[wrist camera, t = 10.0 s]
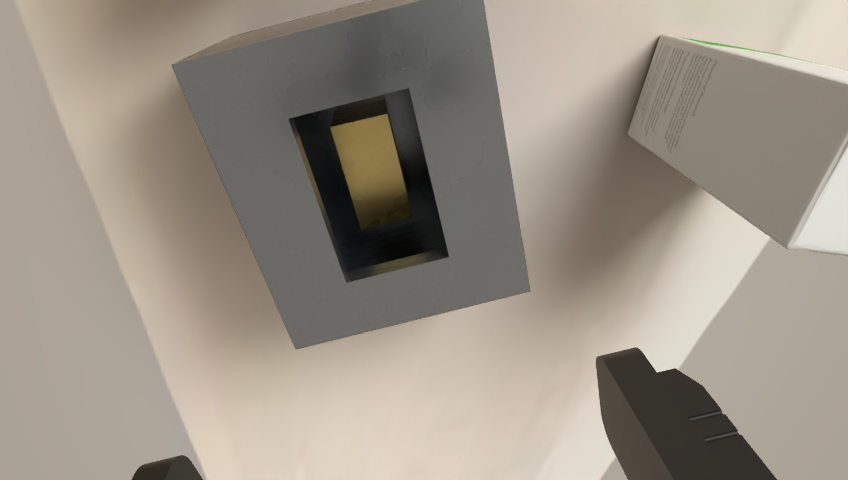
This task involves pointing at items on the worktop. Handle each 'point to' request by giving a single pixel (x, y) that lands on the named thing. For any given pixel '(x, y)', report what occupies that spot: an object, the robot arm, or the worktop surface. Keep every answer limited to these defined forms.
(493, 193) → the box
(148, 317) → the worktop surface
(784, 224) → the skincare box
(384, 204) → the wooden block
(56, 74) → the worktop surface
